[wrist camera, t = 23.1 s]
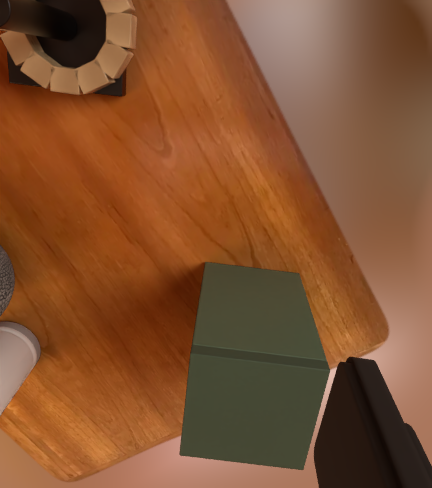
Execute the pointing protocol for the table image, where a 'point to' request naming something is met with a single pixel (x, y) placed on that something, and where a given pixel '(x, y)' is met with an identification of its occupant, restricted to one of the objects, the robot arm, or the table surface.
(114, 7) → the ring
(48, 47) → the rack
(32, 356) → the travel mug
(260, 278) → the block
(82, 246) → the table surface
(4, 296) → the decorative ball
